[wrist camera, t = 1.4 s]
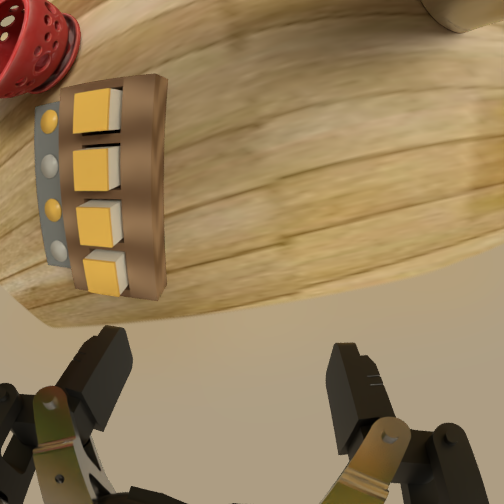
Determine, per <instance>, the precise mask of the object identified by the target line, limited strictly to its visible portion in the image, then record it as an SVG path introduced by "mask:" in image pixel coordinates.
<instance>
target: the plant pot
mask: <svg viewBox="0 0 504 504" xmlns="http://www.w3.org/2000/svg"><path fill="white" fill-rule="evenodd" d="M15 5H17V6H19V7H17V8H15V9H10V8H11V7H12V6H15ZM23 9H25V10H23ZM11 15H13V16H14V17H15V20H14V21H13V22H12V23H11V24H10V25H8V26H6V27H2V26H1V25H0V37H1V35H2V34H3V33H4V32H7V33H8V37H7V38H6V39H5V40H4V41H1V40H0V98H11V97H15V96H19V95H22V94H24V93H27V92H29V93H32V94H38V93H42V92H45V91H47V90H49V89H51V88H52V87H54V86H55V85H56V84H57V83H58V82H59V81H60V80H61V79H62V78H63V77H64V76H65V75H66V74H67V72H68V71H69V69H70V68H71V66H72V64H73V62H74V61H75V58H76V56H77V53H78V50H79V45H80V37H81V32H80V27H79V24H78V22H77V20H76V19H75V18H74V17H73V16H71V15H69V14H66V13H61V12H60V11H59V10H58V9H57V8H56V7H55V6H54V5H53V4H51V3H50V2H49V1H47V0H0V23H1V21H2V20H3V19H4V18H6V17H8V16H11Z"/></svg>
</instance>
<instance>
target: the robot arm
mask: <svg viewBox="0 0 504 504" xmlns="http://www.w3.org/2000/svg"><path fill="white" fill-rule="evenodd" d="M421 1H422V3H423V5H424V7H425V8H426V10H427V11H428V12H429V13H430V15H431V16H432V17H433V18H434V19H435V20H436V21H437V22H438V23H440V24H441V25H442V26H444V27H445V28H447V29H449V30H451V31H454V32H458V33H464V32H468V31H471V30H474V29H477V28H480V27H483V26H486V25H490V24H493V23H496V22H500V21H504V0H421ZM132 363H133V358H132V354H131V350H130V346H129V342H128V338H127V334H126V331H125V329H124V328H121V327H115V326H108V325H106V326H104V327H103V329H102V330H101V332H100V333H99V335H98V336H93V337H91V338H90V339H89V340H87V341H86V342H84V344H83V345H82V347H81V348H80V349H79V351H78V353H77V354H76V355H75V357H74V358H73V360H72V361H71V362H70V364H69V365H68V367H67V369H66V370H65V371H64V373H63V375H62V376H61V378H60V379H59V381H58V382H57V384H56V385H55V386H47V387H44V388H42V389H40V390H39V391H38V392H37V393H36V395H24V394H19V393H18V392H17V390H16V388H15V387H14V386H13V385H12V384H9V383H2V384H0V504H23V502H24V499H25V496H26V493H27V490H28V487H29V485H30V482H31V479H32V477H33V474H34V472H35V469H36V473H37V477H38V482H39V486H40V490H41V494H42V498H43V501H44V504H187V503H184V502H182V501H179V500H177V499H174V498H172V497H170V496H167V495H165V494H163V493H158V492H154V491H149V490H145V489H141V488H138V487H133V486H131V488H130V491H129V492H123V493H116V491H115V490H114V488H113V486H112V485H111V483H110V481H109V480H108V478H107V476H106V474H105V472H104V469H103V467H102V464H101V461H100V459H99V456H98V453H97V450H96V448H95V445H94V442H93V439H92V436H91V433H92V430H93V429H96V430H99V431H102V432H104V429H105V427H106V425H107V422H108V420H109V418H110V416H111V413H112V411H113V409H114V407H115V404H116V402H117V400H118V398H119V396H120V393H121V391H122V389H123V387H124V384H125V383H126V380H127V378H128V376H129V374H130V372H131V369H132ZM326 389H327V394H328V399H329V404H330V409H331V414H332V420H333V426H334V431H335V437H336V443H337V449H338V455H345V454H348V456H349V463H348V464H347V466H346V467H345V469H344V470H343V472H342V473H341V475H340V476H339V478H338V479H337V481H336V482H335V483H334V485H333V486H332V487H331V489H330V490H329V491H328V493H327V494H326V495H325V497H324V498H323V499H322V501H321V502H320V503H319V504H384V502H385V500H386V498H387V496H388V493H389V491H388V486H389V485H390V483H400V484H401V489H402V495H403V500H404V504H489V501H488V498H487V495H486V491H485V487H484V484H483V481H482V478H481V475H480V472H479V469H478V466H477V463H476V460H475V457H474V454H473V451H472V449H471V446H470V444H469V441H468V438H467V436H466V433H465V432H464V430H463V429H462V428H461V427H460V426H458V425H456V424H454V423H444V424H441V425H439V426H438V427H437V428H436V429H435V431H434V432H430V431H418V430H412V429H410V428H409V427H408V425H407V424H406V423H405V422H404V421H402V420H400V419H398V418H396V416H395V414H394V411H393V408H392V406H391V403H390V400H389V398H388V395H387V392H386V390H385V387H384V385H383V382H382V379H381V377H380V374H379V371H378V369H377V366H376V364H375V363H374V362H373V361H372V360H371V359H370V358H369V357H368V356H367V355H364V356H360V354H359V352H358V349H357V346H356V344H355V343H335V344H334V346H333V350H332V353H331V357H330V361H329V365H328V368H327V372H326ZM10 430H11V431H12V432H13V436H12V438H11V441H10V442H9V445H8V446H7V449H6V451H5V453H4V455H3V457H2V456H1V448H2V445H3V443H4V441H5V439H6V437H7V435H8V433H9V431H10ZM233 504H236V503H233Z"/></svg>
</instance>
